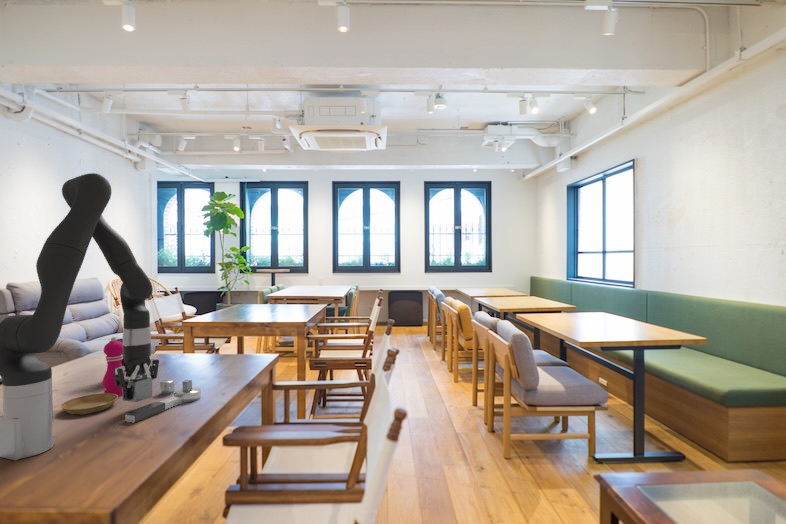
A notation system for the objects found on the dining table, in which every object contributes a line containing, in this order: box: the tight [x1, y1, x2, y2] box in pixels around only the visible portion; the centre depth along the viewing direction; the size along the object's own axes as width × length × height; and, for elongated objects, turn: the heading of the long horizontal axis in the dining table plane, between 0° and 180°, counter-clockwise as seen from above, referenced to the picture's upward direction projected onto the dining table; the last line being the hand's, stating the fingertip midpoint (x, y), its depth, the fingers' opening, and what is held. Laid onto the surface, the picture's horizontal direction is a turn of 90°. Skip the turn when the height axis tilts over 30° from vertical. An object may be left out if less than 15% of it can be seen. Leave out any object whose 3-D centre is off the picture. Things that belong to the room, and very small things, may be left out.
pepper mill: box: [101, 336, 125, 397], centre depth 147 cm, size 7×7×20 cm
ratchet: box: [124, 379, 202, 424], centre depth 134 cm, size 25×8×6 cm, turn 160°
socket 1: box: [122, 375, 153, 403], centre depth 132 cm, size 6×6×7 cm
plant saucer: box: [60, 392, 119, 415], centre depth 134 cm, size 15×15×3 cm
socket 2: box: [159, 379, 176, 396], centre depth 148 cm, size 4×4×4 cm
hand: (137, 396), depth 132 cm, fingers closed on socket 1, 5 cm apart
